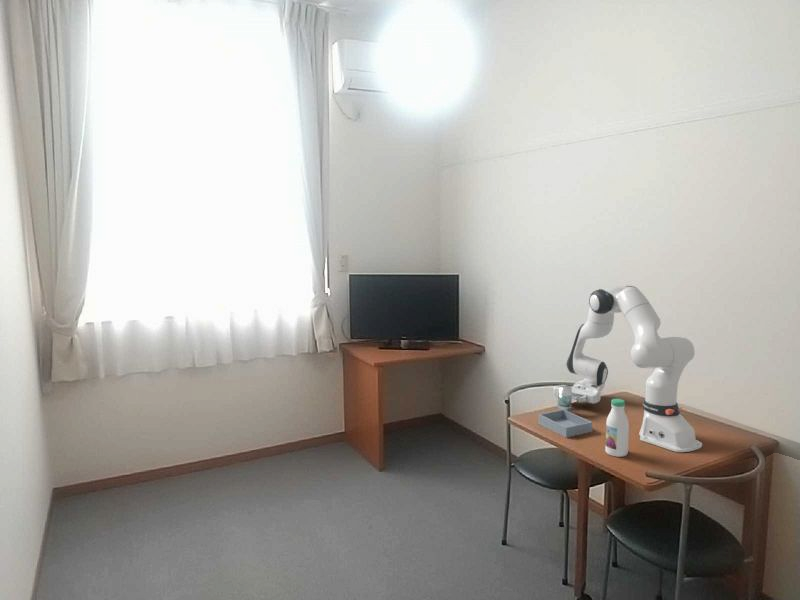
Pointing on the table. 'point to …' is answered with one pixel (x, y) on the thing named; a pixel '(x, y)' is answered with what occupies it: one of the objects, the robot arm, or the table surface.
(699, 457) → the table surface
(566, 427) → the tote
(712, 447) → the table surface
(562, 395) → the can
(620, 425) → the milk bottle
